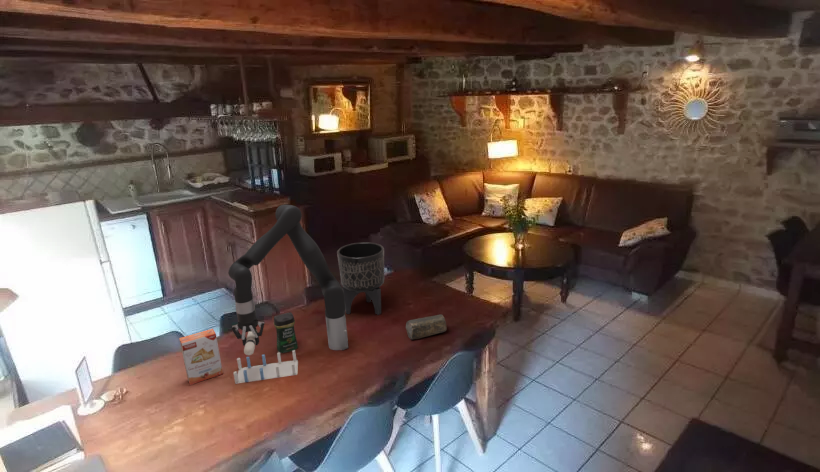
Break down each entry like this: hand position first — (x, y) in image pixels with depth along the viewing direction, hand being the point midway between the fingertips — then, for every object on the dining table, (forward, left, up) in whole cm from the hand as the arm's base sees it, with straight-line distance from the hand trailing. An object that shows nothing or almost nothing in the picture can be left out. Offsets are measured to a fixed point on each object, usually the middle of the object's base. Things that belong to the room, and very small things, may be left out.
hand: (251, 344), depth 208 cm
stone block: (-81, -15, -15) cm, 84 cm away
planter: (-54, -50, -15) cm, 75 cm away
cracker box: (+22, -4, -15) cm, 27 cm away
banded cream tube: (0, 0, 0) cm, 0 cm away
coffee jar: (-13, -18, -15) cm, 27 cm away
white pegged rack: (-5, 0, -15) cm, 16 cm away
